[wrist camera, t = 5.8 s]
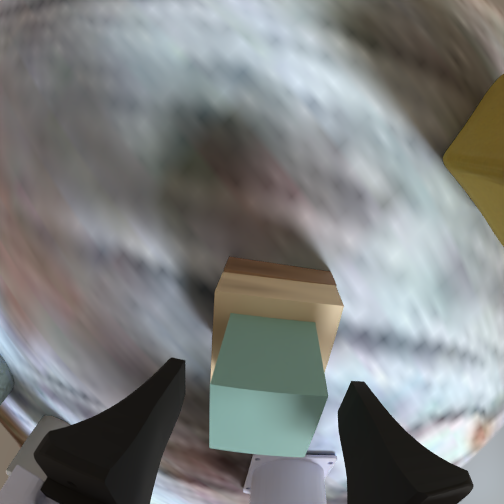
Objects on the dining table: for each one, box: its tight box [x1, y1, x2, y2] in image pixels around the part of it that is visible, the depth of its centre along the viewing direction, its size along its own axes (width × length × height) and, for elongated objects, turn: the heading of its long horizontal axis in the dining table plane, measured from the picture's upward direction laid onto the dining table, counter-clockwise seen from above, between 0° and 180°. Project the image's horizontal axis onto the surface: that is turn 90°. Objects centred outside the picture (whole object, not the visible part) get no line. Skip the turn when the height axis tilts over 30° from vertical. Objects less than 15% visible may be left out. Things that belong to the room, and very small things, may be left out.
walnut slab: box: [224, 257, 336, 285], centre depth 18 cm, size 6×6×2 cm
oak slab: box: [210, 272, 344, 383], centre depth 16 cm, size 6×6×2 cm
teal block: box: [209, 313, 328, 457], centre depth 12 cm, size 4×4×5 cm
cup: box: [6, 415, 70, 482], centre depth 22 cm, size 8×8×10 cm
